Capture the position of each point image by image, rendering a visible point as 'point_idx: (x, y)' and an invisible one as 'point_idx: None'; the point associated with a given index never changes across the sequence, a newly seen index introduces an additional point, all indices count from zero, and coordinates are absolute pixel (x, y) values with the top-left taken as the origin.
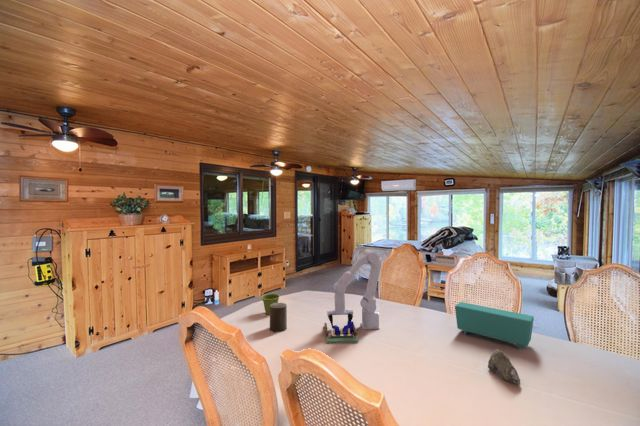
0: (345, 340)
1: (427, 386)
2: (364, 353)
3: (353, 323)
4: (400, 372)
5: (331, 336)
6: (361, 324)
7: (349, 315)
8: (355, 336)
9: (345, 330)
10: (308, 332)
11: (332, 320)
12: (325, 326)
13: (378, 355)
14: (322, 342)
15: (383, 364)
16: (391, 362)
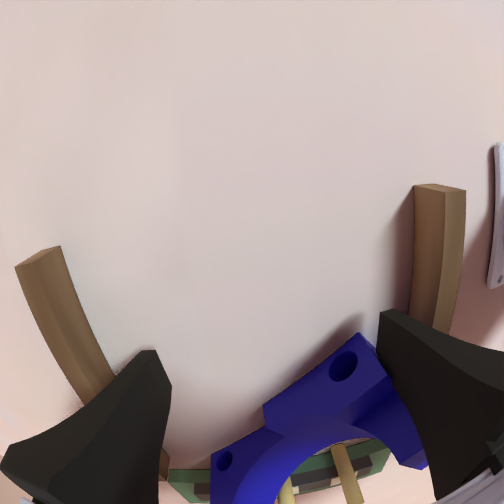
0: (306, 492)
1: (433, 493)
2: (370, 493)
3: (462, 243)
4: (417, 494)
5: (208, 499)
6: (502, 189)
7: (472, 478)
8: (384, 451)
9: (328, 432)
10: (10, 381)
11: (155, 498)
12: (74, 381)
13: (410, 480)
14: (160, 484)
15: (399, 496)
16: (424, 483)
